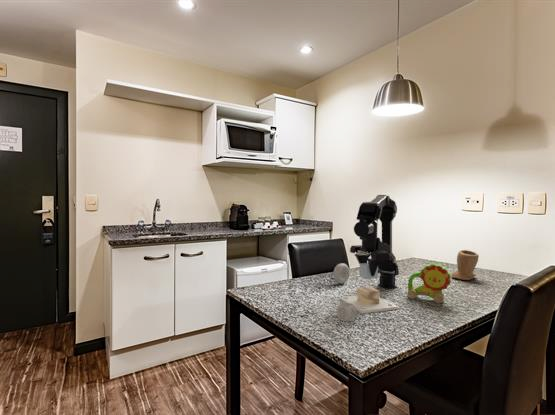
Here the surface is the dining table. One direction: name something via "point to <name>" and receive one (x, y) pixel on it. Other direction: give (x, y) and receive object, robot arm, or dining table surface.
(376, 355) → the dining table surface
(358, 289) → the maple brick
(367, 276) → the slate brick
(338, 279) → the donut
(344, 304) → the die
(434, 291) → the toy lion
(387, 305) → the building plate
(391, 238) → the robot arm
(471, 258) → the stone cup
